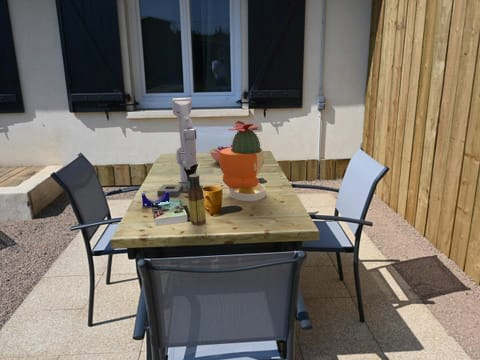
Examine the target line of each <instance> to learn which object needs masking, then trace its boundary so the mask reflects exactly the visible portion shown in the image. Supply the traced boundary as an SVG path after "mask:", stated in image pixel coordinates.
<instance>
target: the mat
mask: <svg viewBox="0 0 480 360" xmlns="http://www.w3.org/2000/svg"><path fill="white" fill-rule="evenodd" d="M200 187H201V188H202V187H203V188H204V186H203V185H200ZM203 188H202V189H203ZM181 193H185V194H186V193H187V194H188V190H187V185H185V186H183V190H182V191H181Z"/></svg>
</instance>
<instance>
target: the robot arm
mask: <svg viewBox="0 0 480 360" xmlns="http://www.w3.org/2000/svg"><path fill="white" fill-rule="evenodd" d="M192 102H193V101H192V98H191V97H189V96H188V97H176V98H172V99H171V107H172V114H173V116H175V117H176V118H177V121H178V123H177V124H178V130H179V131H178V132H179V142H180V147H179V148H178V149H176V152H175V154H176V164H177V165H178V166H179V172H180V175H179V176H180V179H179V181H178V183H187V177H188V181H190V180H189V175H192V174H194V172H196V173H197V170H198V166H199V163H198V160H197V143H196V142H197V136H198V135H197V133H198V132H197V129H196V127H195V126H194V123H193V119H192V118H190V115H191V113H192V107H193V106H192V105H193V103H192Z"/></svg>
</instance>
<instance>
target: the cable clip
mask: <svg viewBox="0 0 480 360" xmlns="http://www.w3.org/2000/svg"><path fill="white" fill-rule="evenodd" d="M170 197H171V196H169V191H168V190H165V194H164V196H160V198H158V199H155V200H151V199H149V198H148V197H147V195H146V192H141V202H142V208H143V209H144V208H150V207H151V204H153V203H160V202H166V201H168V202H169V201H170V202H171V199H170Z"/></svg>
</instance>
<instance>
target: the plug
mask: <svg viewBox="0 0 480 360" xmlns="http://www.w3.org/2000/svg"><path fill="white" fill-rule="evenodd" d="M194 174H197V171H196V172H194ZM186 186H187V190H189V188H190V181H188V177H187V182H186Z"/></svg>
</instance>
